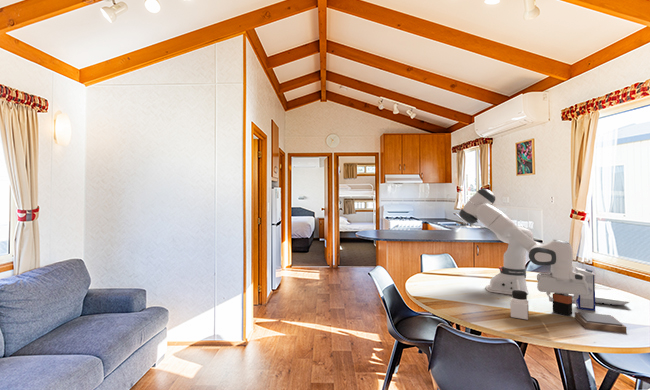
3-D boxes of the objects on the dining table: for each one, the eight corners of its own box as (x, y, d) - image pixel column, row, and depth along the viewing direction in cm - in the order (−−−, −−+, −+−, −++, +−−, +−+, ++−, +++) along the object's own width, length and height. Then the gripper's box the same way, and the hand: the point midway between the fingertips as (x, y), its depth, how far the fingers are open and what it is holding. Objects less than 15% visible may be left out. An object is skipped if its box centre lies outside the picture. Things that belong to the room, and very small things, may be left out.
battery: (568, 316, 157) (567, 295, 157) (552, 312, 163) (552, 291, 163) (572, 314, 159) (572, 293, 159) (556, 310, 165) (556, 290, 165)
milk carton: (575, 305, 174) (575, 266, 174) (591, 306, 171) (591, 267, 171) (578, 309, 168) (578, 269, 168) (595, 311, 164) (594, 270, 165)
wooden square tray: (585, 328, 143) (585, 321, 143) (574, 317, 156) (574, 310, 156) (626, 333, 138) (626, 325, 138) (612, 321, 151) (612, 314, 151)
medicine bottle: (528, 320, 153) (528, 293, 153) (510, 317, 157) (510, 291, 157) (528, 315, 159) (528, 290, 159) (511, 312, 163) (511, 288, 163)
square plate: (565, 301, 182) (565, 293, 182) (557, 288, 206) (557, 282, 206) (630, 308, 169) (630, 300, 169) (614, 294, 194) (613, 287, 194)
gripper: (538, 273, 162) (538, 301, 162) (589, 277, 155) (590, 306, 154) (535, 270, 168) (535, 298, 168) (585, 274, 160) (585, 302, 160)
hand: (562, 302), depth 161 cm, fingers closed on battery, 8 cm apart
